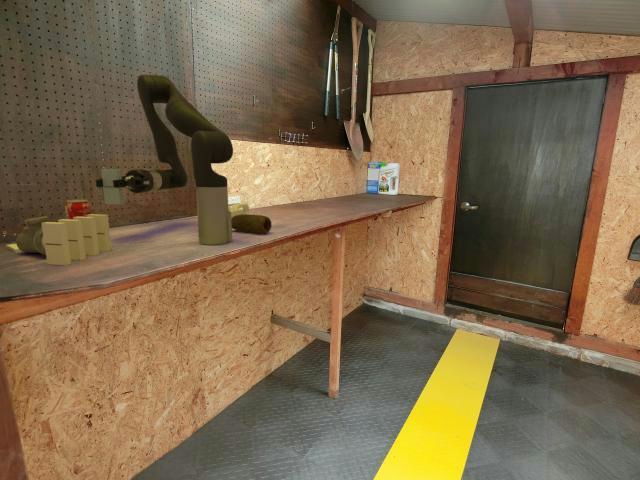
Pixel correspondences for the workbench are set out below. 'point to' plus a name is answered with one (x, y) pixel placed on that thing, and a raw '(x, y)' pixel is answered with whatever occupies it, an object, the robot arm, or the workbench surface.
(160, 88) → the robot arm
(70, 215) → the soda can
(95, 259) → the workbench surface
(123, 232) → the workbench surface
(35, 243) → the pipe fitting
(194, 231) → the workbench surface
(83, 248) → the domino
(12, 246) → the external hard drive
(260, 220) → the portable bluetooth speaker
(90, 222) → the domino
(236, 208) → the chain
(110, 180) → the domino
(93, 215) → the domino
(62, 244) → the domino
